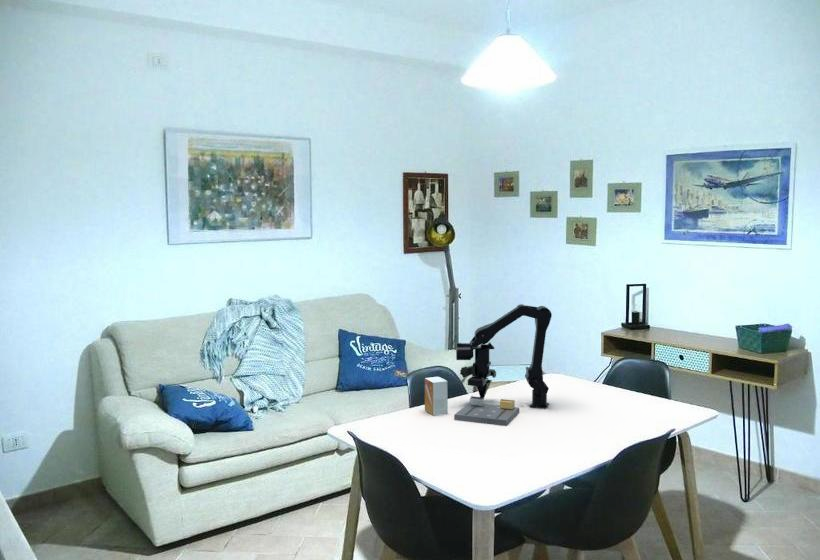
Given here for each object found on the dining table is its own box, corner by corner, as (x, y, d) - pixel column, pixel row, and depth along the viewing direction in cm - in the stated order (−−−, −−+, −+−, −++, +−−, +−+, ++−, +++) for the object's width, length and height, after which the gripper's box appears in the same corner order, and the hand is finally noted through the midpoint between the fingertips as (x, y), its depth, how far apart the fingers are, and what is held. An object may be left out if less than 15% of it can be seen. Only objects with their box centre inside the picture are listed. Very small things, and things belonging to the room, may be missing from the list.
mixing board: (469, 407, 286) (469, 402, 286) (519, 412, 278) (519, 407, 278) (454, 419, 270) (454, 414, 269) (506, 425, 262) (506, 420, 262)
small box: (424, 410, 283) (424, 377, 281) (439, 408, 285) (438, 376, 284) (433, 416, 275) (432, 382, 274) (448, 414, 278) (448, 380, 276)
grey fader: (472, 402, 284) (472, 395, 284) (484, 404, 282) (484, 396, 282) (469, 404, 281) (469, 397, 281) (482, 406, 279) (482, 398, 279)
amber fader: (501, 405, 279) (501, 398, 279) (514, 407, 277) (514, 399, 277) (499, 407, 276) (499, 400, 276) (512, 409, 274) (512, 401, 274)
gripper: (470, 354, 298) (470, 391, 299) (454, 363, 280) (455, 402, 282) (496, 355, 293) (496, 393, 295) (482, 365, 276) (482, 405, 278)
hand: (482, 398), depth 287 cm, fingers closed
